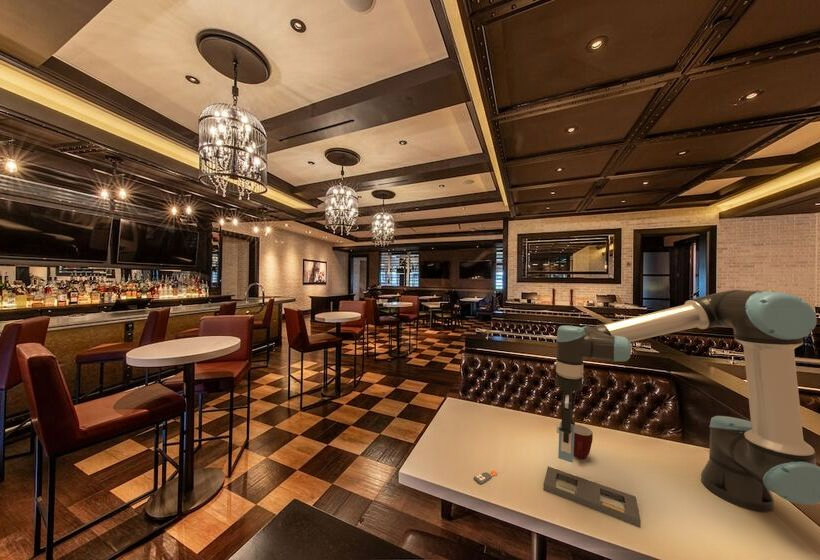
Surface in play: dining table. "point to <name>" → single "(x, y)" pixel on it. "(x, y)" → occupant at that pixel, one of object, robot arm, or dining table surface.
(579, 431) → the mug
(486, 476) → the key chain
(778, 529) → the dining table surface
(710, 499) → the dining table surface
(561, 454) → the plug
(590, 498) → the panel
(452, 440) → the dining table surface
